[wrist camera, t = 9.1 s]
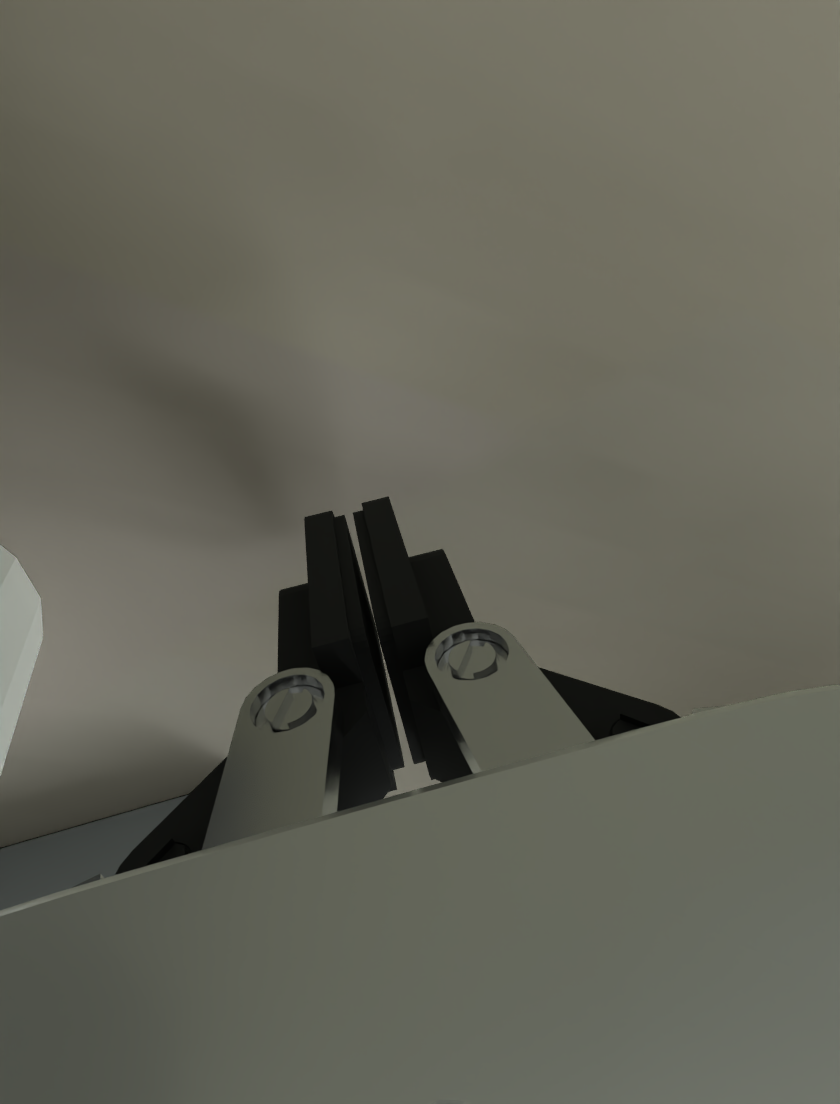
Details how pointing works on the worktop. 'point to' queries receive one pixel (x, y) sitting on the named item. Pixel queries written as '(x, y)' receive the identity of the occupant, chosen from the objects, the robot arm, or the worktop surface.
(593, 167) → the worktop surface
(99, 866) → the box
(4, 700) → the shot glass
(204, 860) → the robot arm
